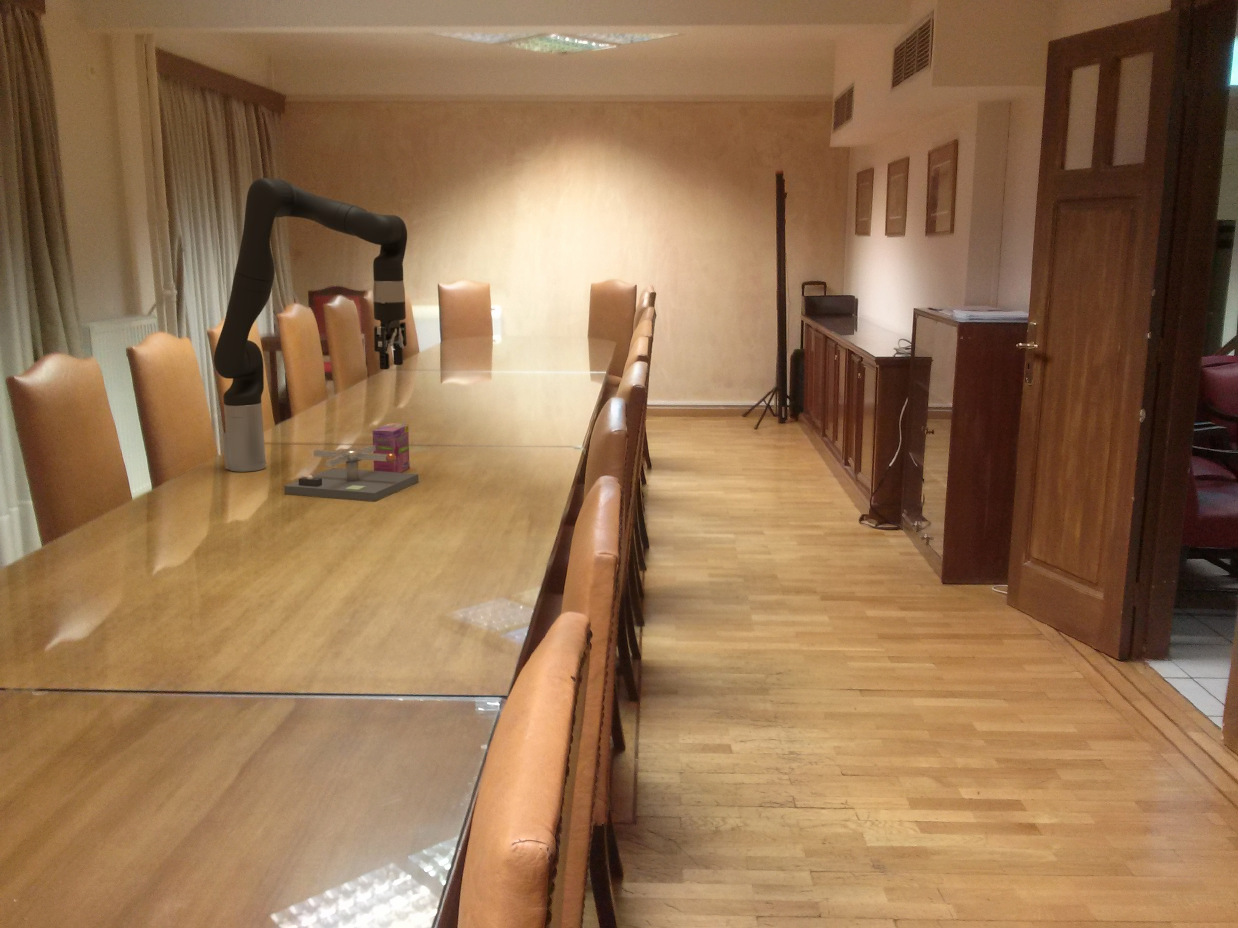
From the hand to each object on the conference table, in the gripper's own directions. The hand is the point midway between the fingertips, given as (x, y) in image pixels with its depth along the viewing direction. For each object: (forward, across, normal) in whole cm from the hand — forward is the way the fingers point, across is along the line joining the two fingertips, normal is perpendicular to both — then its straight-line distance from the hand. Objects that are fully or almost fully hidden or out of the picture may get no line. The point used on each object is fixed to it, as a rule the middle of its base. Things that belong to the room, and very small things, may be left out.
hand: (391, 367), depth 263 cm
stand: (+28, +10, -7) cm, 31 cm away
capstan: (+21, +10, -6) cm, 24 cm away
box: (+28, -8, -4) cm, 30 cm away
